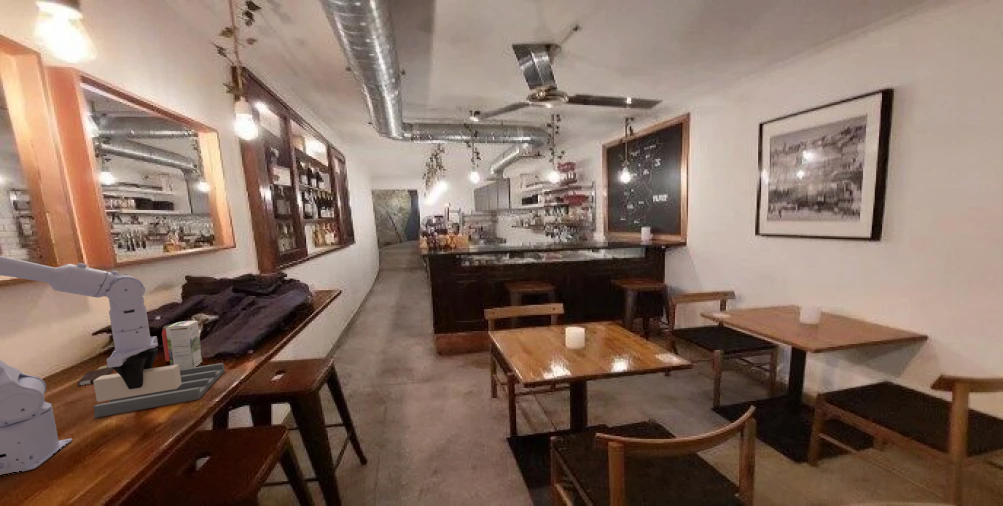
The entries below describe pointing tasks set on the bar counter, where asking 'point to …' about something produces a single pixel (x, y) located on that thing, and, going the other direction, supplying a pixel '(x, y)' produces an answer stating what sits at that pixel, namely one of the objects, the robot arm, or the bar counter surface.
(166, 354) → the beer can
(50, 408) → the robot arm
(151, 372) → the clay strip
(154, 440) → the bar counter surface
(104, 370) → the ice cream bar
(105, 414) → the drying rack
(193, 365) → the syrup box
